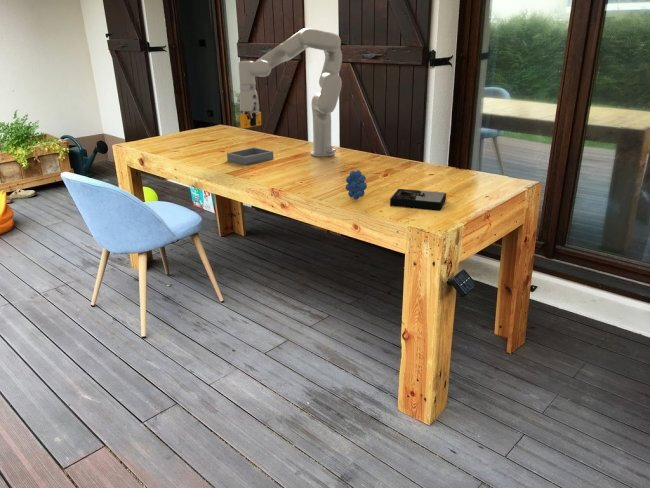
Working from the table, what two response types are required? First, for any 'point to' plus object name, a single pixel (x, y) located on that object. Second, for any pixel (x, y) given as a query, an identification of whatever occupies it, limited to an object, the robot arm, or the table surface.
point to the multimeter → (418, 199)
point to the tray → (250, 156)
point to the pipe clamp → (246, 123)
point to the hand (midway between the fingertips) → (249, 124)
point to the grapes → (356, 184)
